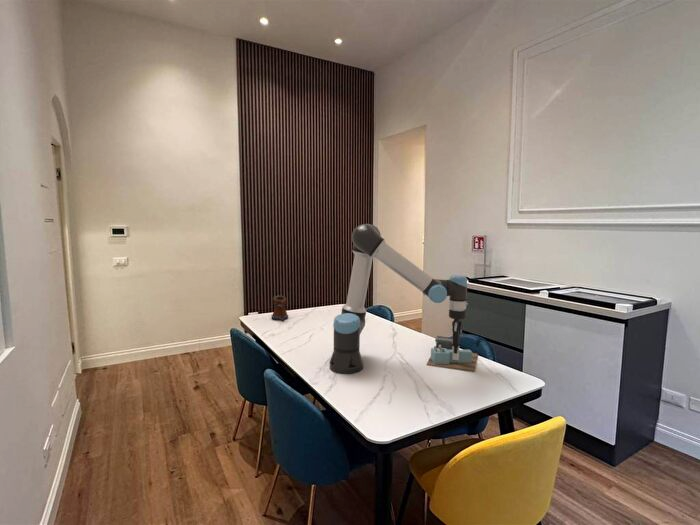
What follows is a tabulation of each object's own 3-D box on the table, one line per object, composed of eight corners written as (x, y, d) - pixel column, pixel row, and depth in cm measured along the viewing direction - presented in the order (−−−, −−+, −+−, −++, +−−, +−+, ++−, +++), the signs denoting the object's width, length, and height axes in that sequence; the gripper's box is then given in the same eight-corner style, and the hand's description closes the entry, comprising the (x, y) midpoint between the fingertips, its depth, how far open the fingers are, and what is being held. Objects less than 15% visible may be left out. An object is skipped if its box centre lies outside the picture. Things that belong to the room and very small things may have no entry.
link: (434, 363, 176) (434, 353, 175) (430, 358, 183) (431, 348, 182) (473, 363, 176) (473, 353, 175) (468, 358, 183) (468, 348, 182)
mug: (293, 322, 247) (292, 299, 245) (275, 324, 242) (275, 300, 241) (286, 315, 263) (286, 294, 262) (269, 317, 259) (269, 295, 257)
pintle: (441, 364, 177) (442, 346, 176) (436, 363, 178) (436, 345, 177) (442, 362, 179) (442, 344, 178) (437, 361, 180) (437, 344, 179)
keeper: (450, 356, 186) (451, 342, 185) (433, 353, 189) (434, 340, 188) (452, 350, 194) (453, 337, 193) (436, 348, 197) (436, 335, 196)
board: (474, 372, 168) (474, 370, 168) (426, 365, 175) (426, 363, 175) (477, 354, 190) (477, 353, 190) (434, 349, 198) (435, 348, 198)
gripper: (464, 313, 166) (462, 365, 169) (467, 307, 178) (465, 356, 181) (447, 311, 169) (445, 363, 172) (450, 305, 181) (449, 353, 184)
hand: (455, 359), depth 176 cm, fingers closed
